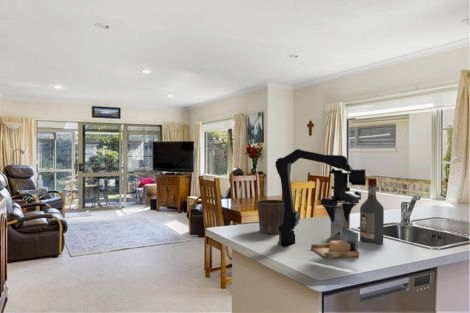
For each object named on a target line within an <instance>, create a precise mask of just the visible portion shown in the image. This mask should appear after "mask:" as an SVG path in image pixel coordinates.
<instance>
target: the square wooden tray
mask: <svg viewBox="0 0 470 313" xmlns="http://www.w3.org/2000/svg"><path fill="white" fill-rule="evenodd" d="M310 248H311V250H312V251H313V252H315V253H316V254H317V255H319V256H321V257H322V258H323V259H325V260H331V259H348V258H349V259H350V258H352V259H353V258H354V259H355V258H359V257H360V251H359V250H358V251H351V252H333V251H332V250H330V242H329V243H311V247H310Z"/></svg>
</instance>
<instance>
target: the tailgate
mask: <svg viewBox="0 0 470 313" xmlns="http://www.w3.org/2000/svg"><path fill="white" fill-rule="evenodd" d="M342 240H343V241H345V242H347V243H349V244H350V252H351V251H358V252H359V233H358V232H357V231H355V230H352V229H351V228H350V229H347V228H345V227H343V239H342Z"/></svg>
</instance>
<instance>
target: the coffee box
mask: <svg viewBox="0 0 470 313" xmlns="http://www.w3.org/2000/svg"><path fill="white" fill-rule="evenodd" d="M337 206H338V207H337V208H336V210H335V219H334V222H331V221H330V238H335V239H340V240H343V227H345V228H347V229H350V230H351V228H350V216H351V214H350V215H349V218H348V220H345V217H344V212H343V206H342V203H338V204H337Z"/></svg>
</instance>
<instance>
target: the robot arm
mask: <svg viewBox="0 0 470 313" xmlns="http://www.w3.org/2000/svg"><path fill="white" fill-rule="evenodd" d="M299 159H304V160H306V161H307V160H308V161H314V162H317V163H322V164H326V165H328V166H330V167H333V168H332V169H331V170H330V171H328V174H332V175H333V183H332V184H333V186H331V187H330V189H331V190H332V192H333V194H332V195H331V197H322V198H321V199H320V205H321V206H322V207H323V208H324V210H325V211H326V213H327V215H328V217H329V220H330V223H331V222H334V219H335V210H336V208H337V207H338V206H337V204H342V206H343V212H344V217H345V220H348V218H349V215H350V216H351V212H352V209H353V208H354V207H356V206H357V205H358V204H359V202H360V201H361V200H362V192H360V191H359V190H357V191H351V187H350V186H348V183H350V184H351V186H361V187H362V186H366V185H367V176H366V175H367V174H366V169H364V168H363V169H353V168H352V166H350V164H349V160H348V157H346V156H345V155H339V154H334V155H333V154H324V153H319V152H313V151H309V150H308V151H307V150H304V149H301V148H297V149H294V150H293V151H292V152H290V153H289V154H286V155H285V156H284V157H279V158H278V159H276V161H275V165H274V166H275V168H276V171H277V174H278V176H279V178H280V184H281V185H280V186H281V191H282V192H281V193H282V199H283V200H282V201H284V215H283V224H281V225H280V226H279V227H278V230H279V234H278V241H277V243H278V244H279V246H281V247H291V246H293V245H295V244H296V234H295V230H294V229H295V228H296V227H297V226H298V225H299V222H300V220H301V217H300V211H299V210H296V209H295V205H294V199H293V198H294V197H293V191H292V190H293V189H292V183H291V173H292V165H293V164H295V163H296V162H297V161H299Z"/></svg>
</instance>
